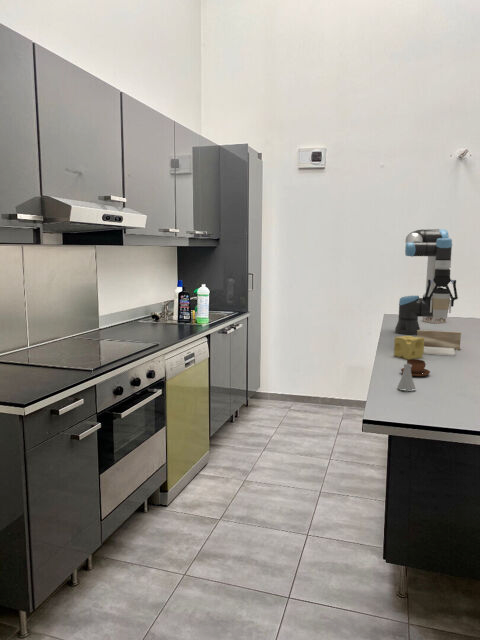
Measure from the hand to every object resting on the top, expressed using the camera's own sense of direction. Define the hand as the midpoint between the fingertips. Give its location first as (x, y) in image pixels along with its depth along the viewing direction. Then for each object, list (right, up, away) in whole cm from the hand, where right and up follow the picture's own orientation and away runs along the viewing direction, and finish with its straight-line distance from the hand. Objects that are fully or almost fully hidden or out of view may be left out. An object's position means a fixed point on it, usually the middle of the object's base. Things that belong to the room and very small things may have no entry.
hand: (440, 312), depth 273 cm
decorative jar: (+35, -6, +102) cm, 108 cm away
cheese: (-19, -23, -8) cm, 31 cm away
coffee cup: (0, -3, 0) cm, 3 cm away
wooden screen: (+4, -19, +13) cm, 23 cm away
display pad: (0, -21, +3) cm, 21 cm away
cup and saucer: (-28, -28, -43) cm, 59 cm away
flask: (-39, -31, -67) cm, 83 cm away
